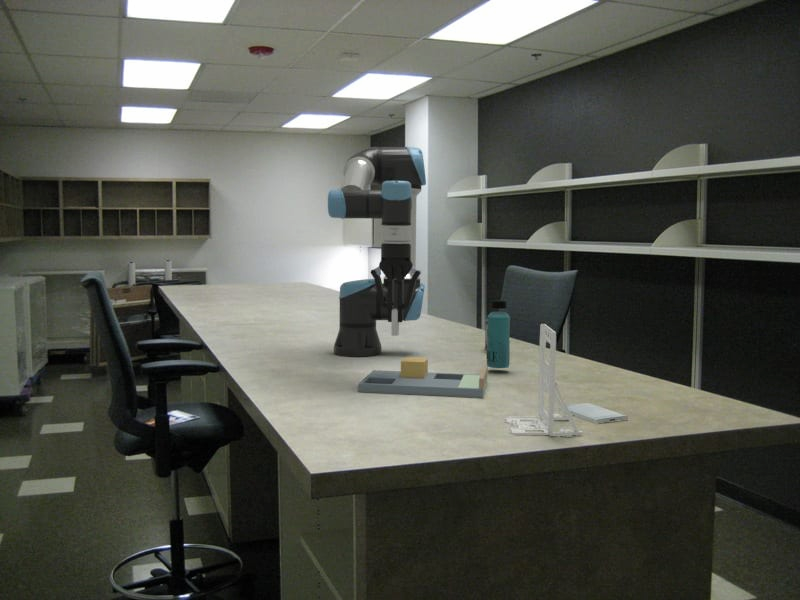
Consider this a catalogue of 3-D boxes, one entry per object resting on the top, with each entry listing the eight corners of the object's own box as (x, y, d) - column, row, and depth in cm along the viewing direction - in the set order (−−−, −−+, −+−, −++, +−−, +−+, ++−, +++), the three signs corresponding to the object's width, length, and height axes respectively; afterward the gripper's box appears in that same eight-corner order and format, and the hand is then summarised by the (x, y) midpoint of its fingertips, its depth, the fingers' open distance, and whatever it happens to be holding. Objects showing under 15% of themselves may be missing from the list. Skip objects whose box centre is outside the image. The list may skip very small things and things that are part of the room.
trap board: (358, 391, 180) (358, 373, 180) (373, 377, 198) (373, 360, 197) (483, 397, 175) (483, 378, 175) (487, 382, 193) (487, 365, 192)
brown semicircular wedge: (507, 354, 236) (508, 323, 236) (488, 354, 237) (488, 323, 236) (503, 348, 249) (503, 319, 248) (484, 348, 249) (485, 318, 248)
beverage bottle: (512, 370, 210) (514, 299, 208) (505, 374, 204) (507, 301, 202) (490, 368, 212) (491, 298, 211) (482, 372, 206) (484, 300, 204)
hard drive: (559, 405, 163) (596, 418, 152) (589, 402, 167) (628, 414, 155) (558, 413, 163) (596, 426, 152) (588, 409, 167) (627, 422, 156)
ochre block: (400, 376, 189) (400, 361, 188) (404, 372, 194) (404, 357, 194) (424, 378, 188) (424, 362, 187) (427, 373, 193) (427, 358, 193)
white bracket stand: (502, 417, 157) (504, 323, 155) (568, 418, 156) (571, 323, 154) (510, 436, 142) (513, 332, 140) (583, 437, 142) (587, 333, 140)
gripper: (367, 242, 186) (367, 336, 189) (419, 243, 184) (418, 338, 187) (373, 241, 194) (373, 331, 196) (423, 242, 191) (422, 333, 194)
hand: (395, 334), depth 191 cm, fingers closed
